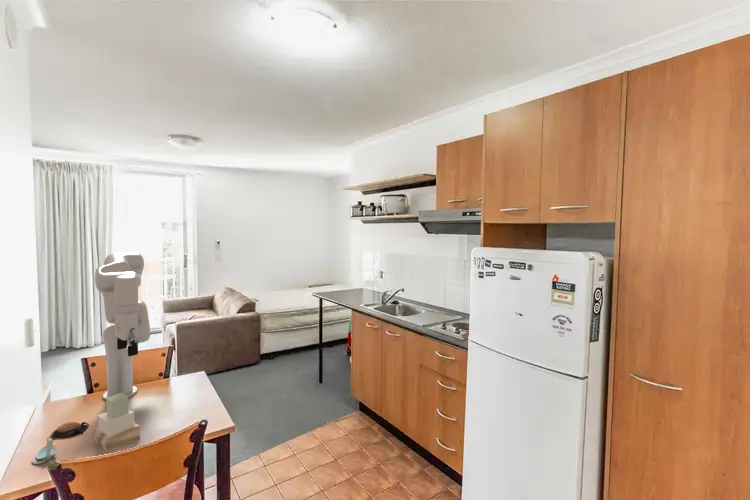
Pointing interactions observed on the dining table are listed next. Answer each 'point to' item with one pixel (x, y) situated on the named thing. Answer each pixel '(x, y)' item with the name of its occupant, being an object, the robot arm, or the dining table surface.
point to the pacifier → (45, 452)
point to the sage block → (117, 405)
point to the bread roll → (69, 430)
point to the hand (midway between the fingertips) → (127, 351)
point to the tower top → (115, 423)
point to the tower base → (117, 438)
